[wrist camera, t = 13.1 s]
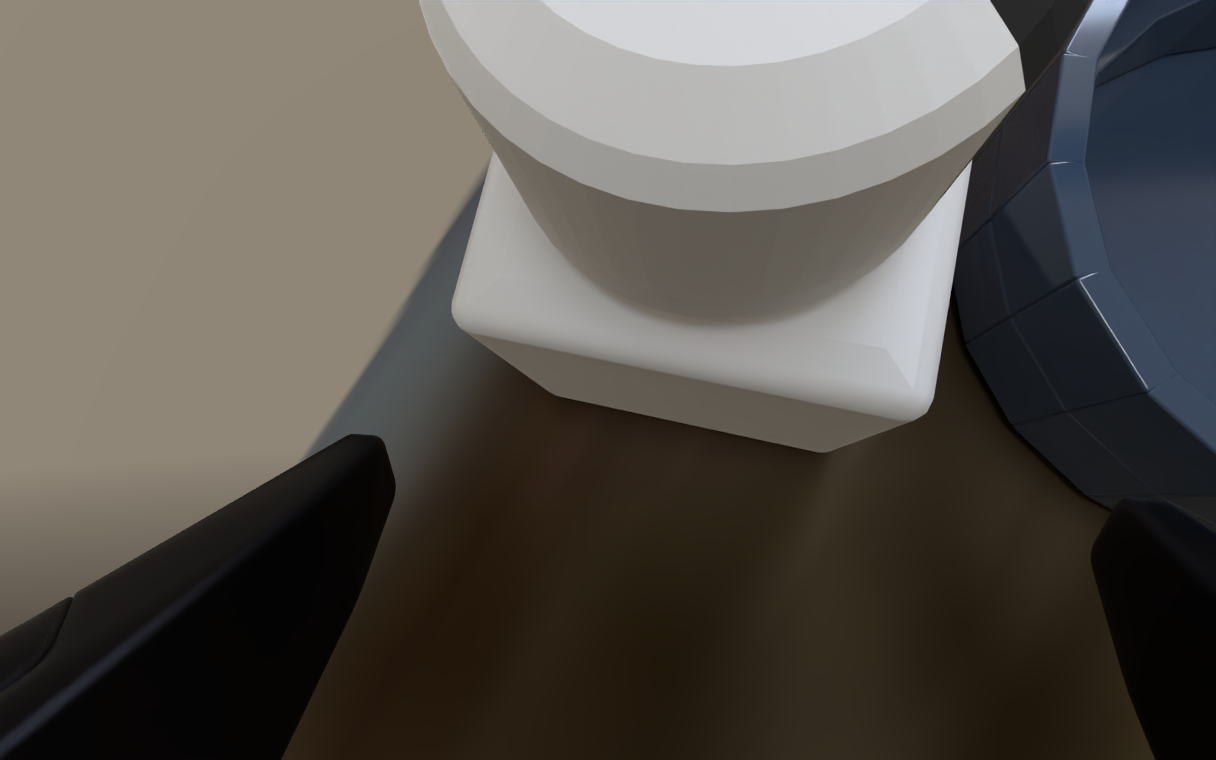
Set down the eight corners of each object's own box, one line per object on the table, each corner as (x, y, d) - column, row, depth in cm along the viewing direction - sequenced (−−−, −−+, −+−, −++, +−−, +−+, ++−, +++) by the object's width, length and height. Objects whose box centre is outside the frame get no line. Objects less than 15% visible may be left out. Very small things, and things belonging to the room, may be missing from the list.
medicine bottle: (609, 138, 18) (437, -540, 6) (883, 179, 17) (1313, -573, 5) (545, 394, 17) (197, 159, 5) (832, 457, 16) (1223, 333, 4)
